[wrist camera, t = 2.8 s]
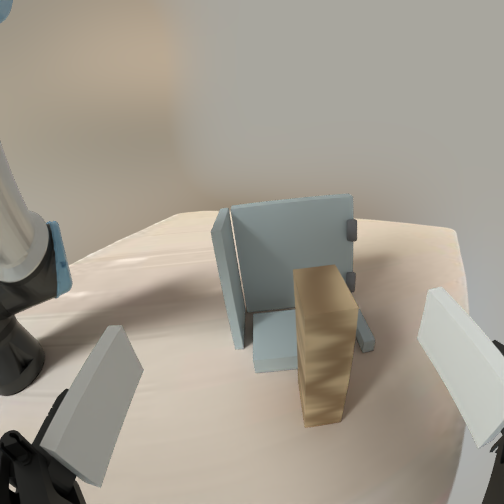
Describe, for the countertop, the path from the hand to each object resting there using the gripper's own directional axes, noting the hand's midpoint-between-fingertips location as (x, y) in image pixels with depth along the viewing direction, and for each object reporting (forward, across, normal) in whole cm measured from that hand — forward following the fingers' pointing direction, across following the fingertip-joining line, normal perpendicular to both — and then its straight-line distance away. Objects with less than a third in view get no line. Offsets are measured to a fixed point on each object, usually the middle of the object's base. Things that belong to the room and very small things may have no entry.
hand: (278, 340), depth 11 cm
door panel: (+11, +4, -20) cm, 23 cm away
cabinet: (+25, +3, -20) cm, 32 cm away
